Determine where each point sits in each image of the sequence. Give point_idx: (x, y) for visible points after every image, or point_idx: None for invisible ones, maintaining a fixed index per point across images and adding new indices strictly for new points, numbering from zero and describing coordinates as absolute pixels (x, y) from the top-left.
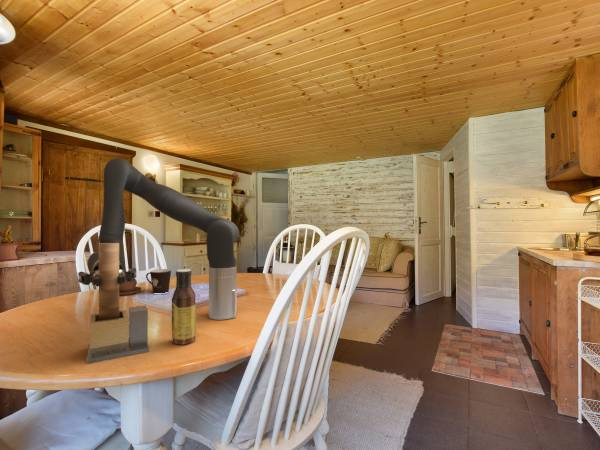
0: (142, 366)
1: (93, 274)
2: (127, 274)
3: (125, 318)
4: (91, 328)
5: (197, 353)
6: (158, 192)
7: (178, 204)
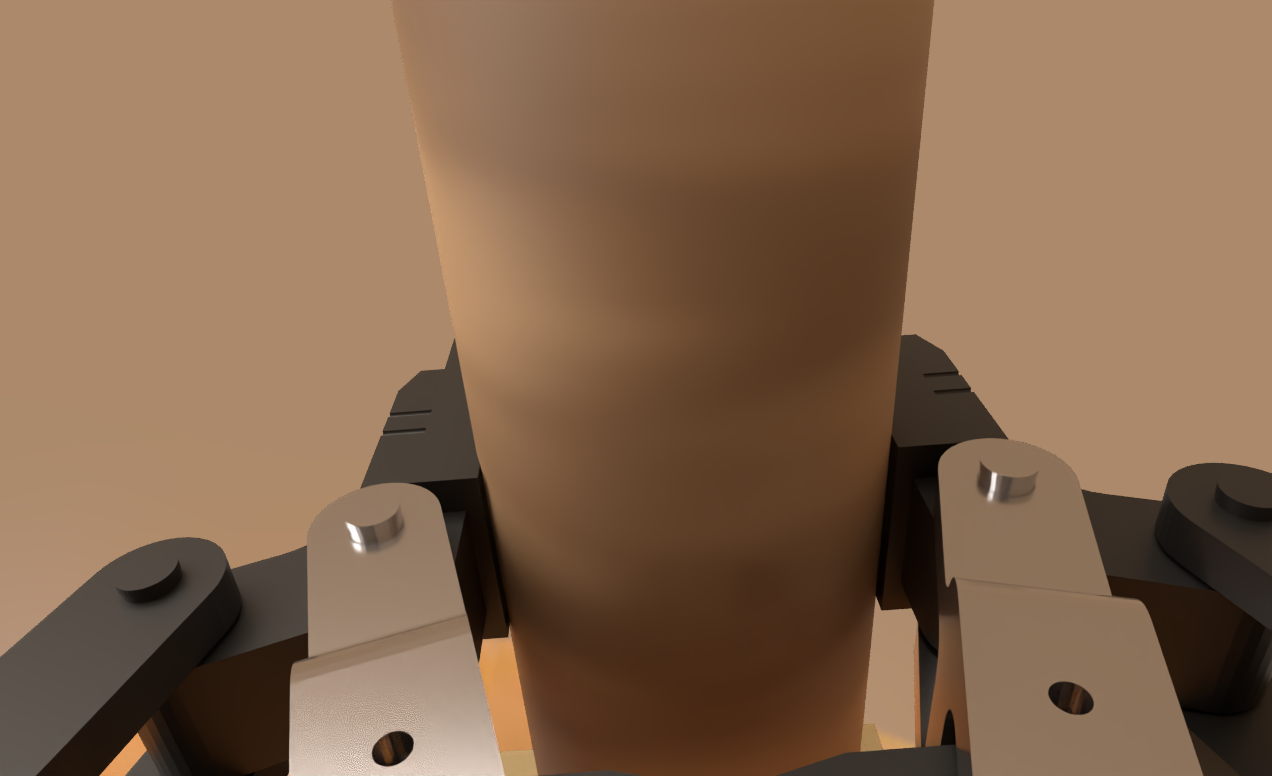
0: (494, 704)
1: (1069, 489)
2: (266, 561)
3: (523, 751)
4: None
5: (127, 746)
6: None
7: None
